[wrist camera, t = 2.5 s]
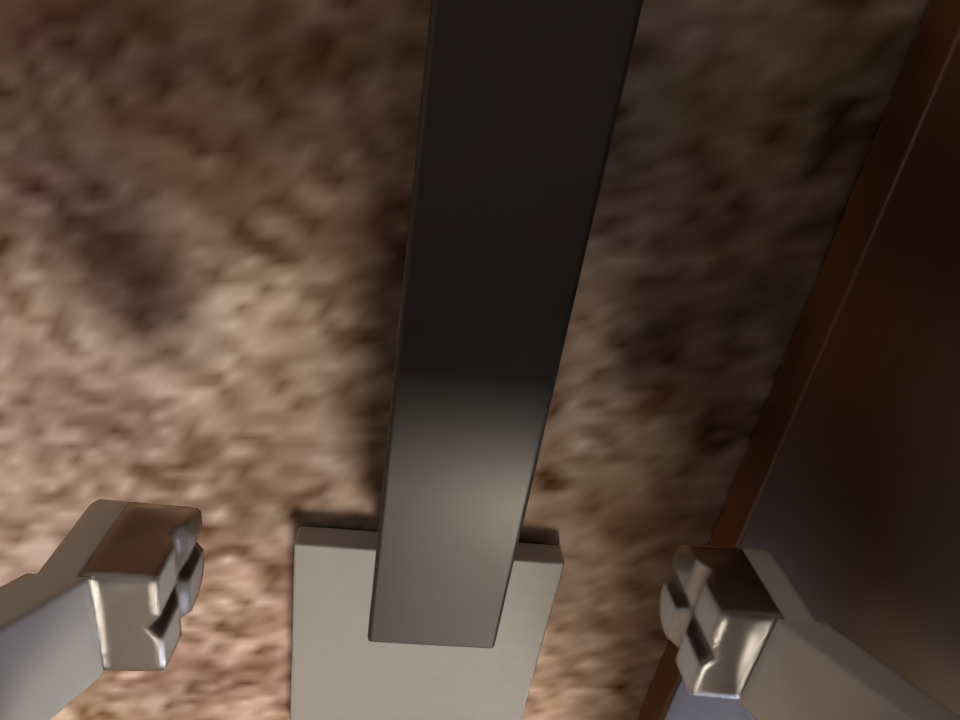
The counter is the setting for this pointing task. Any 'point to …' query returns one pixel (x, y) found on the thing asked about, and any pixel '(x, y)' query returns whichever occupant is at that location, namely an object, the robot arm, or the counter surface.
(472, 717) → the spatula
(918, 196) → the box
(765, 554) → the robot arm
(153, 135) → the counter surface
